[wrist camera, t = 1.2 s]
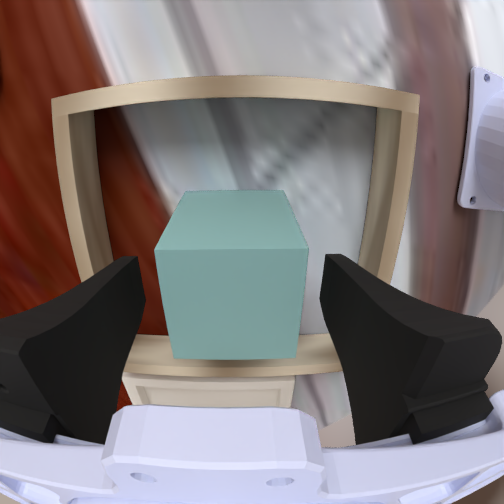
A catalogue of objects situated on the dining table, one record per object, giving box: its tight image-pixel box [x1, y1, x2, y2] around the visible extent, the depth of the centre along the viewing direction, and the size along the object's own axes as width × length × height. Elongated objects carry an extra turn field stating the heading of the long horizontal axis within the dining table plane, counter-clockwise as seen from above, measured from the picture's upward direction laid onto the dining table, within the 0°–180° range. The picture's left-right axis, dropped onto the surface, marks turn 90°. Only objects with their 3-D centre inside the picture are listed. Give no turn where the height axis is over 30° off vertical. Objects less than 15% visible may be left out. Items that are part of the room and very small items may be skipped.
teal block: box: [154, 190, 309, 360], centre depth 13 cm, size 4×4×6 cm
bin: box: [51, 75, 420, 377], centre depth 14 cm, size 15×15×2 cm
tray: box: [122, 372, 295, 408], centre depth 21 cm, size 11×10×2 cm
